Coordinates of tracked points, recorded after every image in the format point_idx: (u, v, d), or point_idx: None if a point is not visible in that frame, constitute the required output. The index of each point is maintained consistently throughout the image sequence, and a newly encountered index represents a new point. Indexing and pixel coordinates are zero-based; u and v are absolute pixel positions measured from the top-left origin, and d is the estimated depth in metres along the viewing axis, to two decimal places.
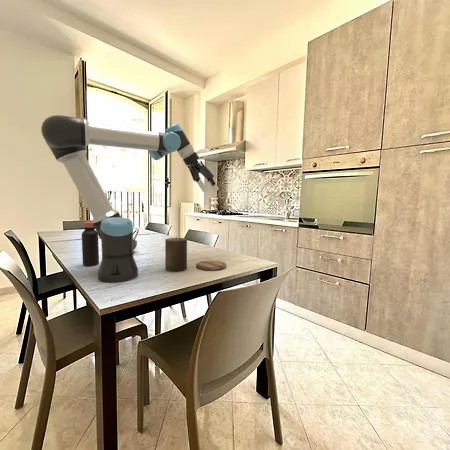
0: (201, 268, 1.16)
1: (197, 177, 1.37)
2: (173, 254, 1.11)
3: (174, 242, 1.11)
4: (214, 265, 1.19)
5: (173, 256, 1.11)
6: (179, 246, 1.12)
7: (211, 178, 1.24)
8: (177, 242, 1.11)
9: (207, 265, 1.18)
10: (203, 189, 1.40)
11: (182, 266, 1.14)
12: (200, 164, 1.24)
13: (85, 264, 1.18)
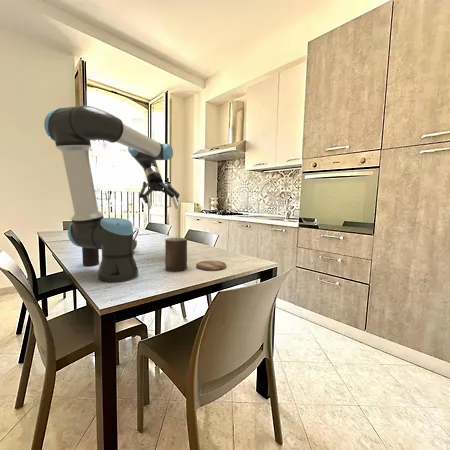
0: (201, 268, 1.16)
1: (148, 194, 1.26)
2: (173, 254, 1.11)
3: (174, 242, 1.11)
4: (214, 265, 1.19)
5: (173, 256, 1.11)
6: (179, 246, 1.12)
7: (178, 196, 1.34)
8: (177, 242, 1.11)
9: (207, 265, 1.18)
10: None
11: (182, 266, 1.14)
12: None
13: (85, 264, 1.18)
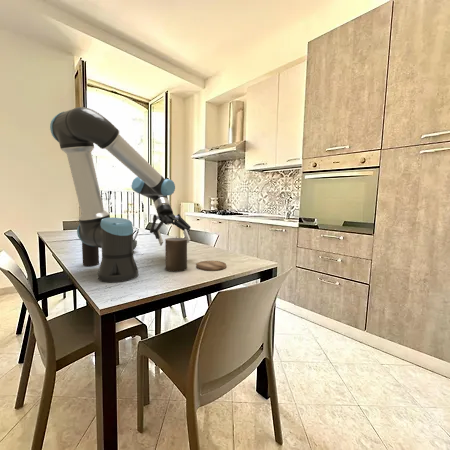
0: (201, 268, 1.16)
1: (159, 228, 1.22)
2: (173, 254, 1.11)
3: (174, 242, 1.11)
4: (214, 265, 1.19)
5: (173, 256, 1.11)
6: (179, 246, 1.12)
7: (189, 228, 1.30)
8: (177, 242, 1.11)
9: (207, 265, 1.18)
10: None
11: (182, 266, 1.14)
12: None
13: (85, 264, 1.18)
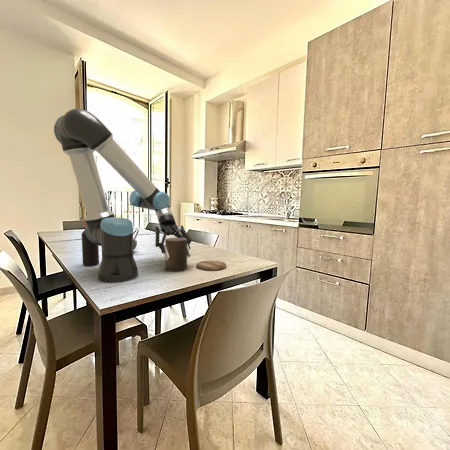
0: (201, 268, 1.16)
1: None
2: (173, 254, 1.11)
3: (174, 242, 1.11)
4: (214, 265, 1.19)
5: (173, 256, 1.11)
6: (179, 246, 1.12)
7: (190, 242, 1.22)
8: (177, 242, 1.11)
9: (207, 265, 1.18)
10: None
11: (182, 266, 1.14)
12: None
13: (85, 264, 1.18)
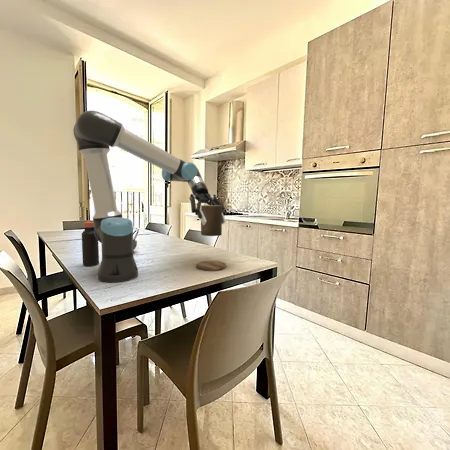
0: (201, 268, 1.16)
1: (199, 207, 1.19)
2: (210, 219, 1.14)
3: (211, 207, 1.14)
4: (214, 265, 1.19)
5: (210, 221, 1.14)
6: (216, 211, 1.15)
7: (223, 210, 1.25)
8: (214, 207, 1.14)
9: (207, 265, 1.18)
10: None
11: (218, 231, 1.16)
12: None
13: (85, 264, 1.18)
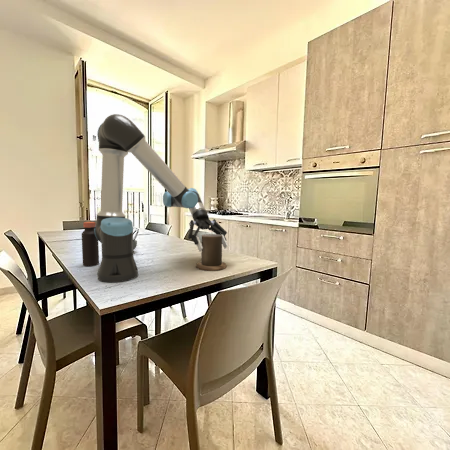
0: (201, 268, 1.16)
1: None
2: (210, 249, 1.16)
3: (211, 238, 1.15)
4: None
5: (210, 252, 1.16)
6: (216, 242, 1.16)
7: (225, 234, 1.27)
8: (214, 238, 1.16)
9: None
10: None
11: (218, 261, 1.18)
12: None
13: (85, 264, 1.18)
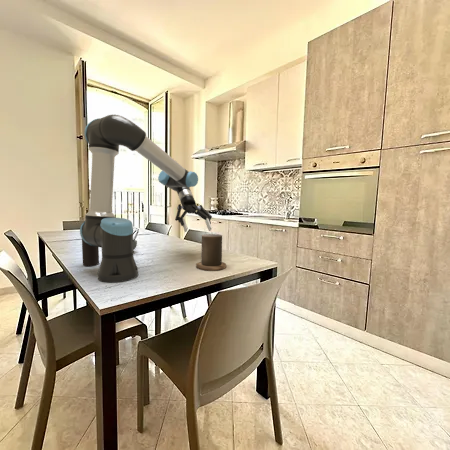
0: (201, 268, 1.16)
1: (183, 216, 1.31)
2: (210, 249, 1.16)
3: (211, 238, 1.15)
4: None
5: (210, 252, 1.16)
6: (216, 242, 1.16)
7: (210, 218, 1.39)
8: (214, 238, 1.16)
9: None
10: None
11: (218, 261, 1.18)
12: None
13: (85, 264, 1.18)
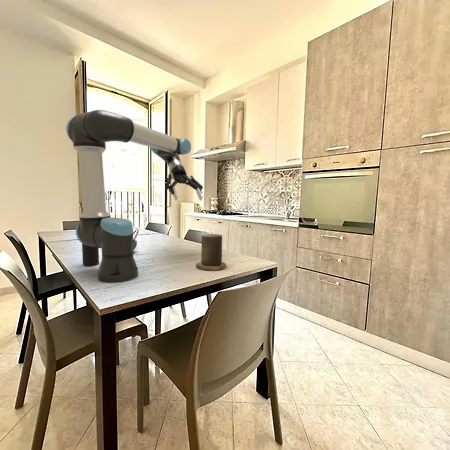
0: (201, 268, 1.16)
1: (174, 185, 1.30)
2: (210, 249, 1.16)
3: (211, 238, 1.15)
4: None
5: (210, 252, 1.16)
6: (216, 242, 1.16)
7: (201, 188, 1.38)
8: (214, 238, 1.16)
9: None
10: None
11: (218, 261, 1.18)
12: None
13: (85, 264, 1.18)
